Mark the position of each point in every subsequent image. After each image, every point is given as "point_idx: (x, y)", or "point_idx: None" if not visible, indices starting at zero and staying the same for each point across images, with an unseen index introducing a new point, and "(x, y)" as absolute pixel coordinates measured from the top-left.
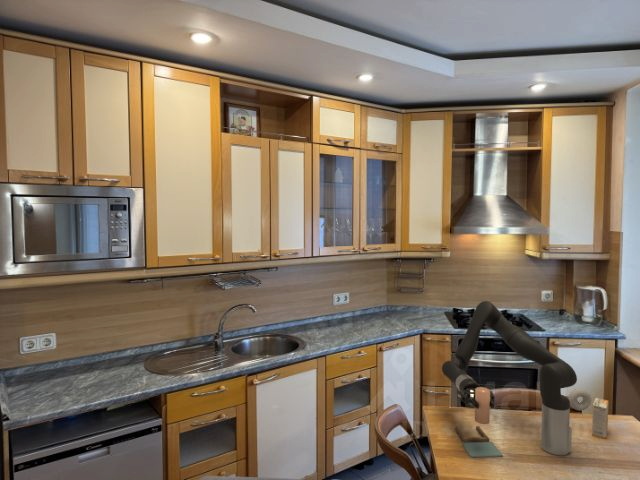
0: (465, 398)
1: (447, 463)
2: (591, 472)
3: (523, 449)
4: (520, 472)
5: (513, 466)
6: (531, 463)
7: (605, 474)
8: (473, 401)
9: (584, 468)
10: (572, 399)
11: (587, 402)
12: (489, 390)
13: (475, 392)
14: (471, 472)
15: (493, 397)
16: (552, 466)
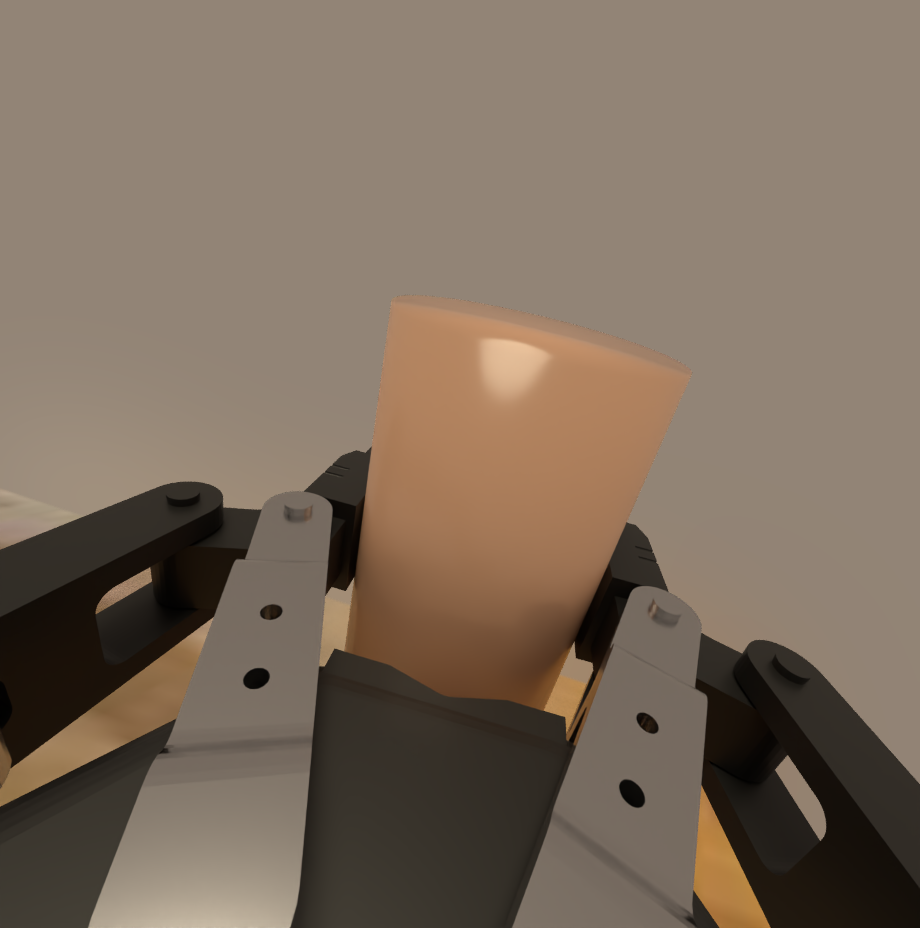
0: (804, 684)
1: (704, 821)
2: (40, 514)
3: (24, 788)
4: (339, 614)
5: (327, 657)
6: (203, 642)
7: (11, 492)
8: (643, 565)
9: (18, 534)
10: None
11: None
12: (418, 297)
13: (662, 436)
14: (578, 695)
15: (213, 488)
16: (135, 590)
